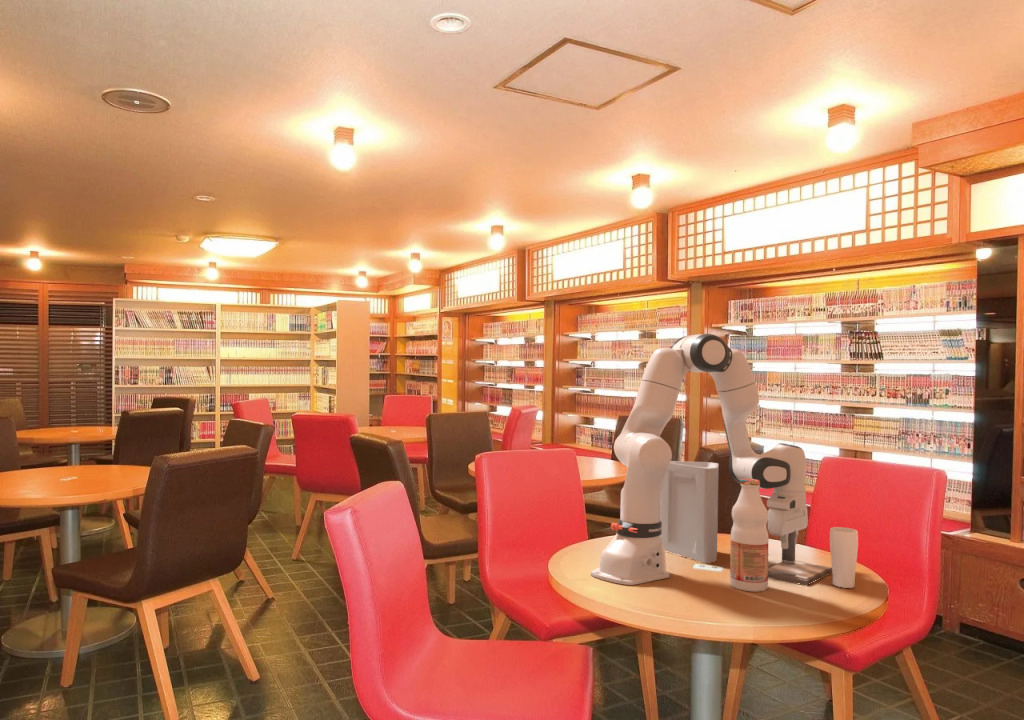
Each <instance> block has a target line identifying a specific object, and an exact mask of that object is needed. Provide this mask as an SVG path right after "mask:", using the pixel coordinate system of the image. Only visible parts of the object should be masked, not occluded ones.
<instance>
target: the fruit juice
mask: <svg viewBox="0 0 1024 720" xmlns="http://www.w3.org/2000/svg"><path fill="white" fill-rule="evenodd" d="M740 483H741V484H740V486H741V489H740V492H739V494H738V497H737V500H736V502H735V504H734V505H733V506H732V509H731V519H732V522H733V523H732V526H731V529H730V556H729V557H730V560H729V561H730V563H729V565H730V568H729V569H730V571H729V573H730V574H729V578H730V579H729V581H730V585H731V587H733V588H734V589H737V590H740V591H744V592H757V593H758V592H765V591H766V590H767V589H768V586H769V577H768V567H769V530H768V528H767V524H768V511H769V510H768V509H767V507H766V506H765V504H764V503H763V499H762V497H761V496H762V495H761V492H760V488H759V487H760V481H759V480H755V479H741V481H740Z"/></svg>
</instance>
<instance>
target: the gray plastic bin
mask: <svg viewBox="0 0 1024 720" xmlns="http://www.w3.org/2000/svg"><path fill="white" fill-rule="evenodd" d="M718 518H719V463H717V462H712V461H711V462H708V461H681V460H679V461H678V460H674V461H673V460H671V462H670V464H669V466H668V467H667V469H666V472H665V476H664V480H663V485H662V490H661V502H660V521H661V522H662V534H661V535H660V538H661V541H662V543H663V545H664V548H665V550H666V551H669V552H672V553H675V554H679V555H682V556H685V557H688V558H691V559H694V560H697V561H700V562H699V563H701V562H703V563H702V564H704V563H708V564H712V563H711V562H714V563H716V562H717V558H718V557H717V556H718V527H719V526H718V524H719V523H718ZM691 559H690V560H691ZM694 560H693V561H694ZM697 561H696V562H697ZM715 561H716V562H715Z"/></svg>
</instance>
